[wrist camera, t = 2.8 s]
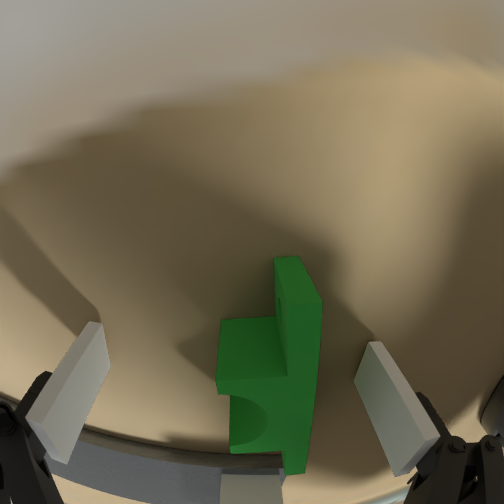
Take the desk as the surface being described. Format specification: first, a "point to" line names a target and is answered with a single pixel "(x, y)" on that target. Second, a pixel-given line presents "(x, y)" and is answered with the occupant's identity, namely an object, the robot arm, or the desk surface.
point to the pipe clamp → (274, 370)
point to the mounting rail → (169, 472)
